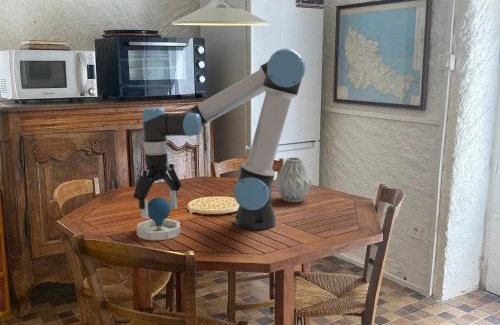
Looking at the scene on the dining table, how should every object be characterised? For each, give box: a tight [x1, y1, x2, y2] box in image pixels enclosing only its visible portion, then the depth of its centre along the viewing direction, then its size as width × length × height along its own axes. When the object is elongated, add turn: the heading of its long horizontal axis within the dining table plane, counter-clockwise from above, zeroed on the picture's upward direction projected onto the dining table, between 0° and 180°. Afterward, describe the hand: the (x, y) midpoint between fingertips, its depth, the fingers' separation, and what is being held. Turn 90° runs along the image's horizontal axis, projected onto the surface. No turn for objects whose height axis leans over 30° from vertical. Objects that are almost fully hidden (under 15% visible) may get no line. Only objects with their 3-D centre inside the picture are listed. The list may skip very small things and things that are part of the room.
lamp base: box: [136, 218, 181, 241], centre depth 179 cm, size 15×15×3 cm
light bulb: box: [147, 196, 172, 231], centre depth 178 cm, size 8×8×12 cm
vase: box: [274, 157, 313, 203], centre depth 220 cm, size 16×16×18 cm
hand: (159, 212), depth 178 cm, fingers open, 13 cm apart
